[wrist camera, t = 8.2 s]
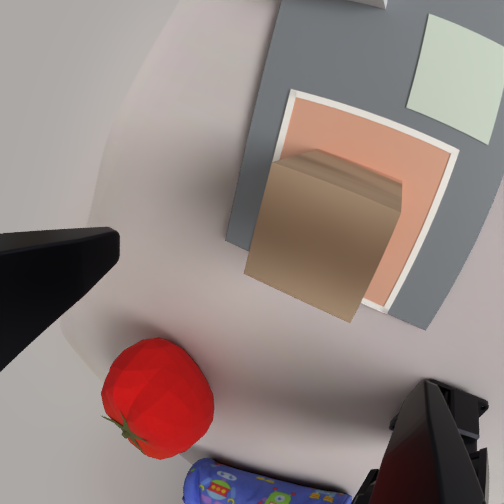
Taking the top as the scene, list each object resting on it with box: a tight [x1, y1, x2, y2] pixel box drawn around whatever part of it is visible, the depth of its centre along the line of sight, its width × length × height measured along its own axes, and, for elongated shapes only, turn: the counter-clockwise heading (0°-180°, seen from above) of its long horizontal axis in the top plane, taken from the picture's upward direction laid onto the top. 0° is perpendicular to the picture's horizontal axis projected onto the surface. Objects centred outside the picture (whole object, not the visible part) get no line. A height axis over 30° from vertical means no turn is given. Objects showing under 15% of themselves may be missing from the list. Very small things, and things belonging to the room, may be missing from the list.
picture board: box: [225, 0, 504, 330], centre depth 14 cm, size 23×15×3 cm, turn 166°
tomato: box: [101, 338, 214, 460], centre depth 28 cm, size 11×13×10 cm
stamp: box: [244, 149, 402, 323], centre depth 15 cm, size 5×5×7 cm
